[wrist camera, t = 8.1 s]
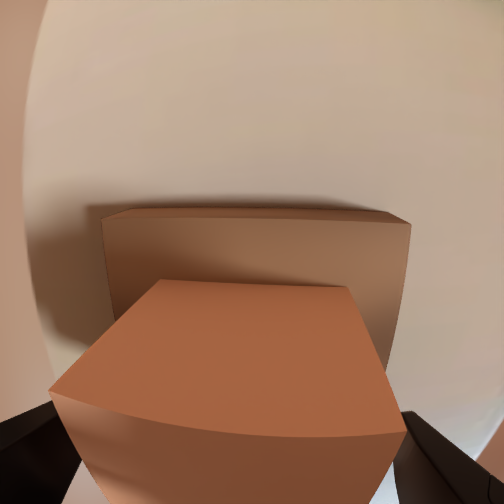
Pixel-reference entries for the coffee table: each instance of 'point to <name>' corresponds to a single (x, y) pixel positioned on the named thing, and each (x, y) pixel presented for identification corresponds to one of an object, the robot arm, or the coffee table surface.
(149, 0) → the coffee table surface
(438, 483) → the robot arm
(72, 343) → the coffee table surface
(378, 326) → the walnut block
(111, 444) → the terracotta cube
